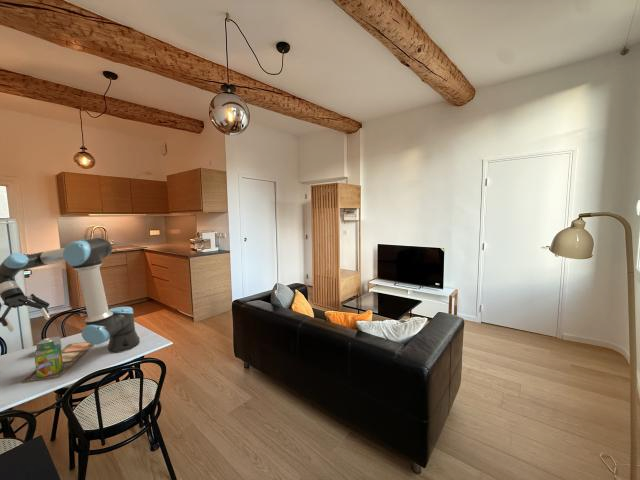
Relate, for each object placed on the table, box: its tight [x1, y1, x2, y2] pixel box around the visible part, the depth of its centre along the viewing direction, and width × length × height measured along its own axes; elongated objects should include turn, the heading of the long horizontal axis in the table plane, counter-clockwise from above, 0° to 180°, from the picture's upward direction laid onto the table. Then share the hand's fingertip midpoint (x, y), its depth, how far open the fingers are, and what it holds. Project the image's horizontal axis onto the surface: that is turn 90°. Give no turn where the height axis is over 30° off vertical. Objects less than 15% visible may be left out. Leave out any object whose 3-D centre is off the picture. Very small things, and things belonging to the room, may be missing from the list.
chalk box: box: [34, 341, 64, 379], centre depth 135 cm, size 9×9×15 cm
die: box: [35, 336, 63, 350], centre depth 153 cm, size 7×7×7 cm
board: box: [21, 341, 95, 384], centre depth 146 cm, size 35×14×1 cm, turn 14°
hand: (31, 324), depth 136 cm, fingers open, 13 cm apart
